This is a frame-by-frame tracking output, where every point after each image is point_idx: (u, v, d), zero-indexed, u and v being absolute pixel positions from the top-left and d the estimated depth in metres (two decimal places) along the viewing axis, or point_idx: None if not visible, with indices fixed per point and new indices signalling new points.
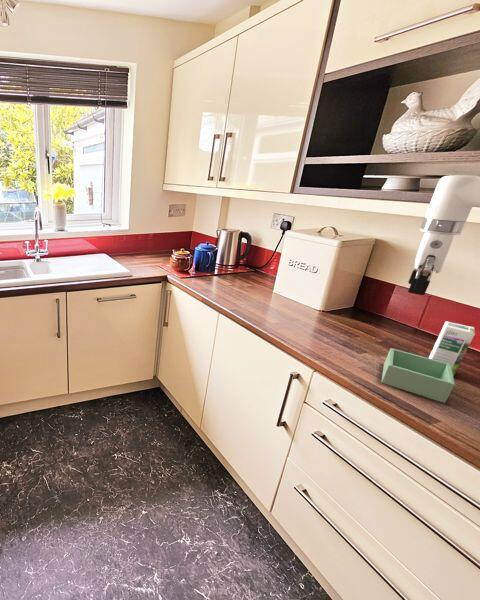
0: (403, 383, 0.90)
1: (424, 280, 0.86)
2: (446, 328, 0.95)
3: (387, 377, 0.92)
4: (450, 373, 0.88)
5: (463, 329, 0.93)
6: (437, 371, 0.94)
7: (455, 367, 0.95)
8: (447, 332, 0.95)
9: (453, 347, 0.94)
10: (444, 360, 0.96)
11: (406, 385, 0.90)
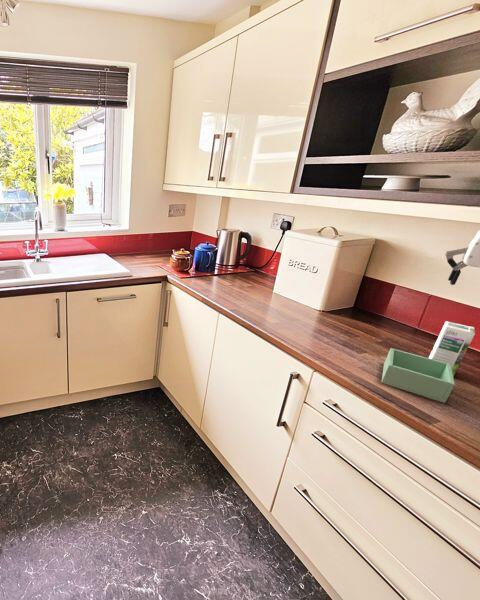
0: (403, 383, 0.90)
1: None
2: (446, 328, 0.95)
3: (387, 377, 0.92)
4: (450, 373, 0.88)
5: (463, 329, 0.93)
6: (437, 371, 0.94)
7: (455, 367, 0.95)
8: (447, 332, 0.95)
9: (453, 347, 0.94)
10: (444, 360, 0.96)
11: (406, 385, 0.90)
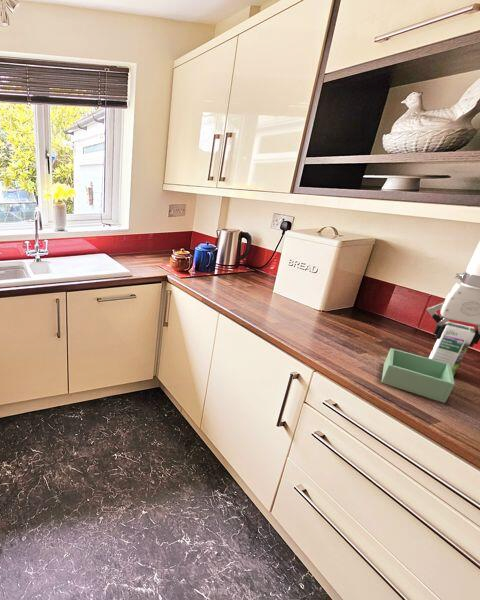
0: (403, 383, 0.90)
1: (438, 324, 0.97)
2: (446, 328, 0.95)
3: (387, 377, 0.92)
4: (450, 373, 0.88)
5: (463, 329, 0.93)
6: (437, 371, 0.94)
7: (455, 367, 0.95)
8: (447, 332, 0.95)
9: (453, 347, 0.94)
10: (444, 360, 0.96)
11: (406, 385, 0.90)
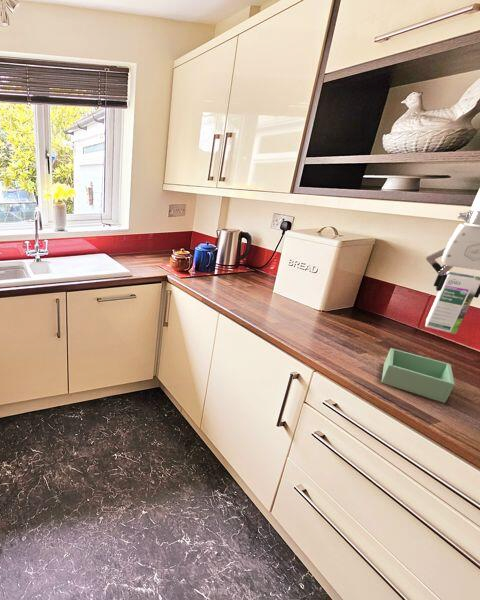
0: (403, 383, 0.90)
1: (439, 274, 0.85)
2: (448, 277, 0.83)
3: (387, 377, 0.92)
4: (450, 373, 0.88)
5: (467, 277, 0.81)
6: (437, 371, 0.94)
7: (458, 322, 0.83)
8: (449, 281, 0.83)
9: (456, 299, 0.83)
10: (446, 315, 0.85)
11: (406, 385, 0.90)
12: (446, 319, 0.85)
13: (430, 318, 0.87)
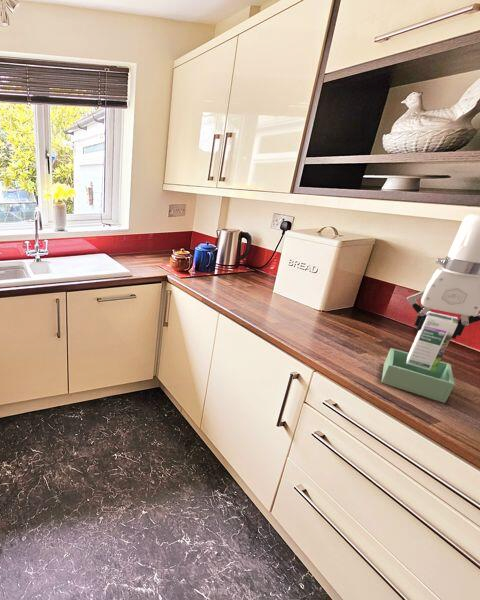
0: (403, 383, 0.90)
1: None
2: (427, 318, 0.86)
3: (387, 377, 0.92)
4: (450, 373, 0.88)
5: (445, 319, 0.85)
6: (437, 371, 0.94)
7: (437, 361, 0.87)
8: (428, 322, 0.87)
9: (434, 339, 0.86)
10: (425, 353, 0.88)
11: (406, 385, 0.90)
12: (426, 358, 0.88)
13: (411, 356, 0.91)
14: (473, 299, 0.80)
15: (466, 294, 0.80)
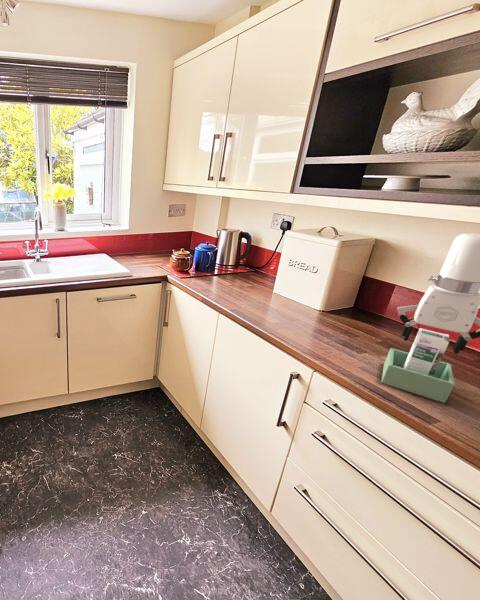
0: (403, 383, 0.90)
1: (405, 325, 0.91)
2: (419, 336, 0.88)
3: (387, 377, 0.92)
4: (450, 373, 0.88)
5: (437, 337, 0.87)
6: (437, 371, 0.94)
7: None
8: (420, 340, 0.88)
9: (426, 357, 0.88)
10: (418, 370, 0.90)
11: (406, 385, 0.90)
12: None
13: None
14: (464, 317, 0.82)
15: (457, 312, 0.82)
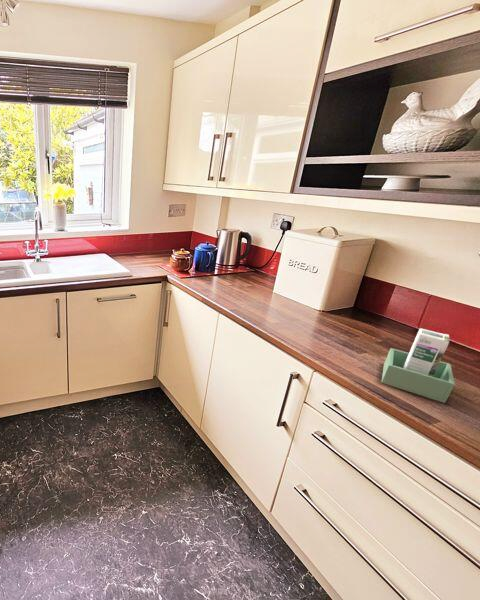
0: (403, 383, 0.90)
1: None
2: (419, 336, 0.88)
3: (387, 377, 0.92)
4: (450, 373, 0.88)
5: (437, 337, 0.87)
6: (437, 371, 0.94)
7: None
8: (420, 340, 0.88)
9: (426, 357, 0.88)
10: (418, 370, 0.90)
11: (406, 385, 0.90)
12: None
13: None
14: None
15: None
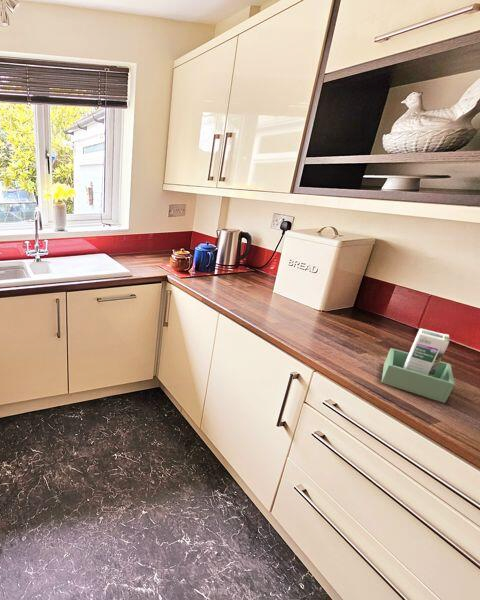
0: (403, 383, 0.90)
1: None
2: (419, 336, 0.88)
3: (387, 377, 0.92)
4: (450, 373, 0.88)
5: (437, 337, 0.87)
6: (437, 371, 0.94)
7: None
8: (420, 340, 0.88)
9: (426, 357, 0.88)
10: (418, 370, 0.90)
11: (406, 385, 0.90)
12: None
13: None
14: None
15: None
